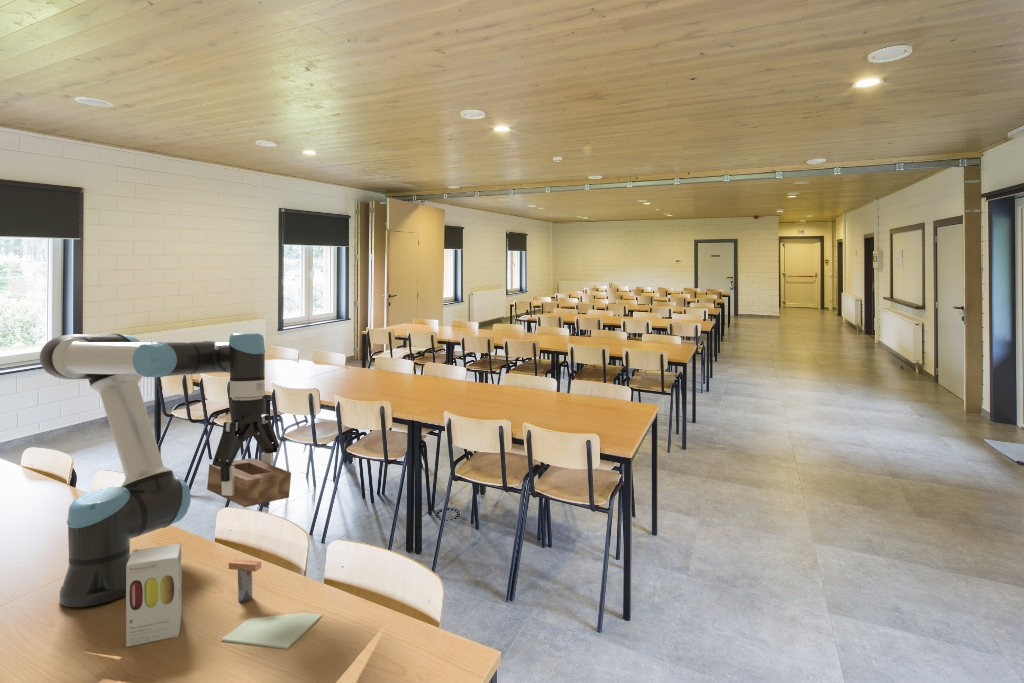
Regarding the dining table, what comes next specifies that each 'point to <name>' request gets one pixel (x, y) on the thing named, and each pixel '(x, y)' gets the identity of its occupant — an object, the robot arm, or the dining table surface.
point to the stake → (244, 577)
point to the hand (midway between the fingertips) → (248, 487)
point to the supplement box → (153, 594)
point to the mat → (273, 630)
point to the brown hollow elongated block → (252, 482)
